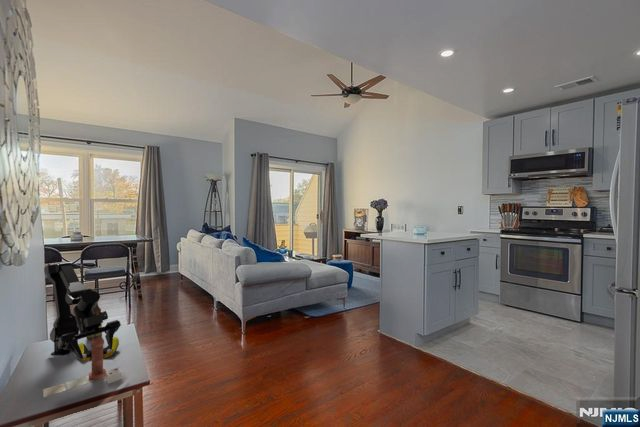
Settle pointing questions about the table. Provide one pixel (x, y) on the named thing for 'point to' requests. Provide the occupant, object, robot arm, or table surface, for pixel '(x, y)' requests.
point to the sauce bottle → (97, 311)
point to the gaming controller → (106, 351)
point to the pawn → (97, 359)
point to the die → (113, 375)
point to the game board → (69, 385)
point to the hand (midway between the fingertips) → (97, 353)
